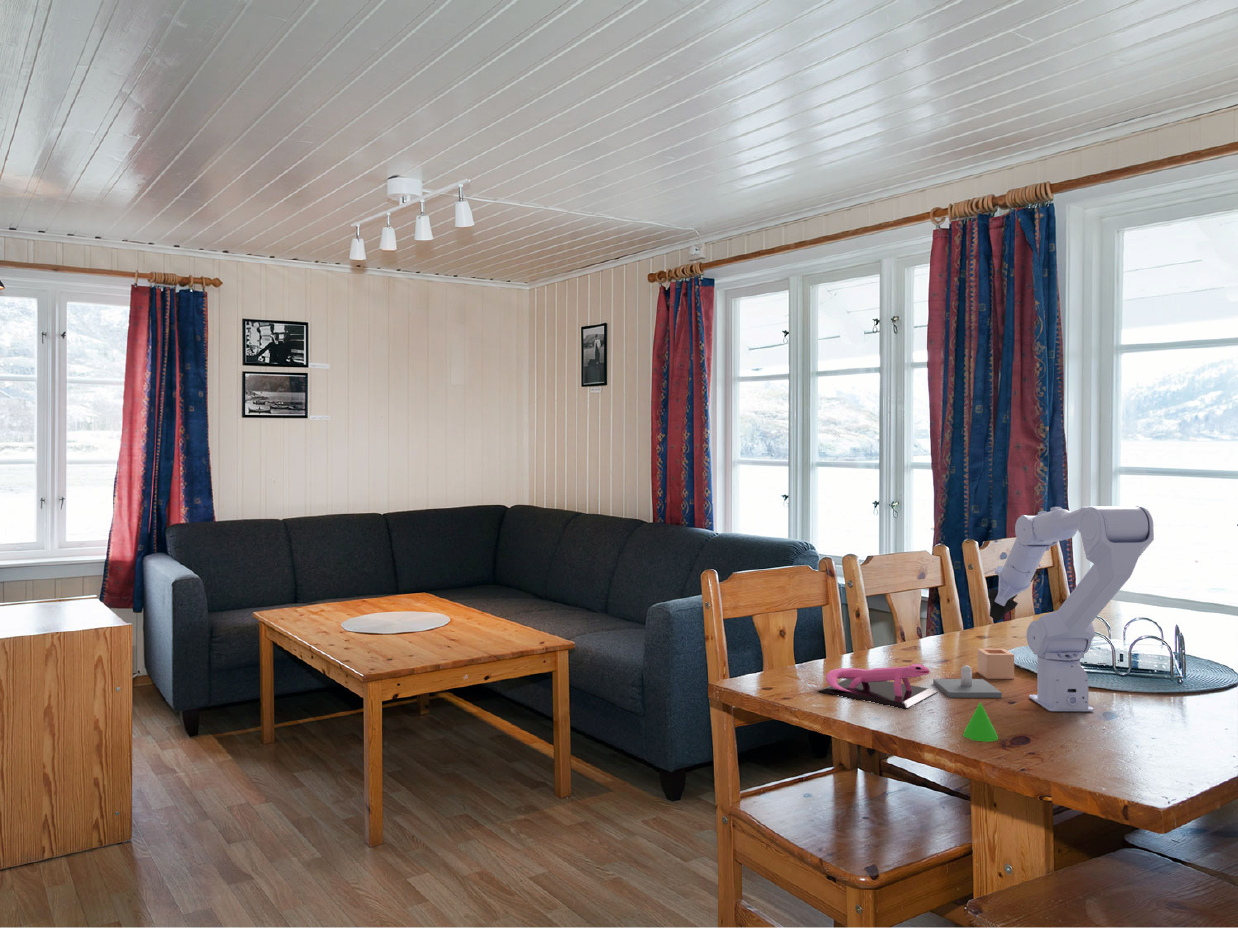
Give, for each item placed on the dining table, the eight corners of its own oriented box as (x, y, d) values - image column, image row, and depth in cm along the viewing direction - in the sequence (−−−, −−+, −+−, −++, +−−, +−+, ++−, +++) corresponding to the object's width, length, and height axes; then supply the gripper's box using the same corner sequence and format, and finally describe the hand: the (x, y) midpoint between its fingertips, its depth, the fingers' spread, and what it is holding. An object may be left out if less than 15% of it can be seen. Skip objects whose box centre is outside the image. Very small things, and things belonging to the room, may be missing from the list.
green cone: (955, 737, 151) (954, 701, 151) (970, 729, 155) (970, 694, 155) (990, 745, 146) (990, 708, 146) (1005, 736, 151) (1005, 701, 151)
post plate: (1001, 697, 173) (1001, 671, 173) (948, 697, 174) (948, 671, 174) (983, 683, 183) (983, 659, 183) (933, 683, 184) (933, 659, 184)
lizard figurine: (914, 714, 165) (914, 674, 165) (816, 695, 178) (816, 658, 178) (945, 697, 176) (945, 659, 176) (851, 680, 189) (851, 645, 189)
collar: (1014, 678, 187) (1014, 654, 187) (986, 678, 187) (986, 654, 187) (1003, 671, 193) (1003, 648, 192) (977, 671, 193) (977, 648, 193)
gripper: (1016, 534, 188) (996, 578, 197) (989, 572, 179) (969, 617, 188) (1049, 550, 184) (1028, 594, 193) (1024, 590, 176) (1002, 635, 184)
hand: (1001, 607), depth 190 cm, fingers open, 7 cm apart
